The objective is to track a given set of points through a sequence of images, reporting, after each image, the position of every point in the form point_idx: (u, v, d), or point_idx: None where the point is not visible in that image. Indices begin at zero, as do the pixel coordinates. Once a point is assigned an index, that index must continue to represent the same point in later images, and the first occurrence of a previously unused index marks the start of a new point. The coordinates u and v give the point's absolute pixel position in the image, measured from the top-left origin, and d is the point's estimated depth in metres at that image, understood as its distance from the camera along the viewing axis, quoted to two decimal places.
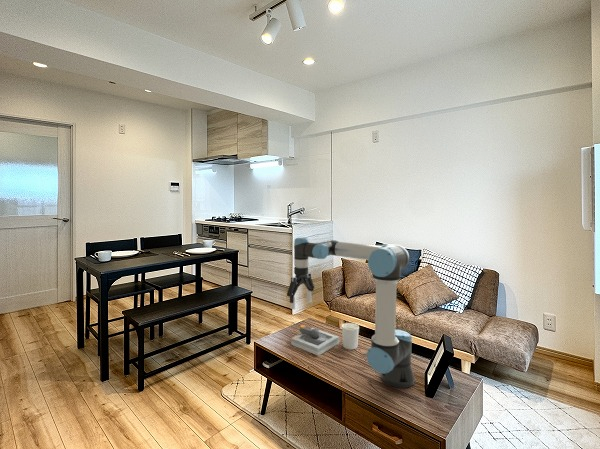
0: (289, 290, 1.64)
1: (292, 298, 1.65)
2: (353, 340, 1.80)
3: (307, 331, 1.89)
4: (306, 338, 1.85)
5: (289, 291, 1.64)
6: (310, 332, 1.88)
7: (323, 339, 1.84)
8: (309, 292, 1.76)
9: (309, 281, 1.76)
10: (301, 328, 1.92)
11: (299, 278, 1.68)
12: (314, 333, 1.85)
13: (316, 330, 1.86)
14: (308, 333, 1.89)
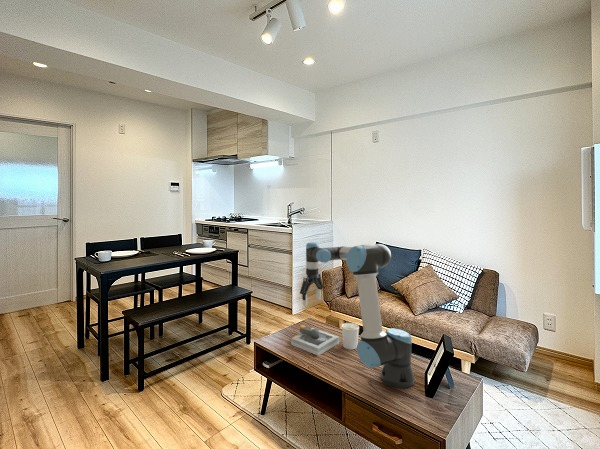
0: (302, 289, 1.87)
1: (304, 296, 1.88)
2: (353, 340, 1.80)
3: (307, 331, 1.89)
4: (306, 338, 1.85)
5: (302, 289, 1.87)
6: (310, 332, 1.88)
7: (323, 339, 1.84)
8: (319, 290, 1.99)
9: (319, 281, 1.99)
10: (301, 328, 1.92)
11: (310, 278, 1.91)
12: (314, 333, 1.85)
13: (316, 330, 1.86)
14: (308, 333, 1.89)
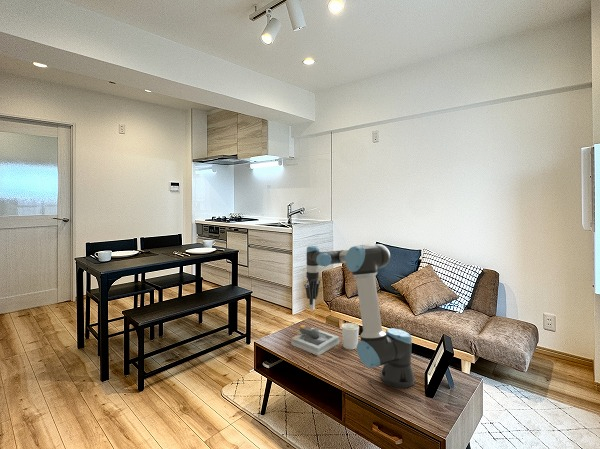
0: (307, 294, 1.92)
1: (311, 300, 1.94)
2: (353, 340, 1.80)
3: (307, 331, 1.89)
4: (306, 338, 1.85)
5: (308, 295, 1.92)
6: (310, 332, 1.88)
7: (323, 339, 1.84)
8: None
9: (316, 288, 1.97)
10: (301, 328, 1.92)
11: (311, 281, 1.91)
12: (314, 333, 1.85)
13: (316, 330, 1.86)
14: (308, 333, 1.89)
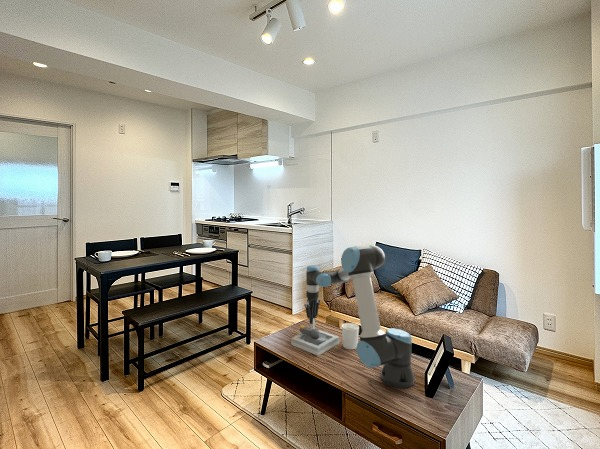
0: (307, 314, 1.93)
1: (311, 320, 1.95)
2: (353, 340, 1.80)
3: (307, 331, 1.89)
4: (306, 338, 1.85)
5: (308, 315, 1.93)
6: (310, 332, 1.88)
7: (323, 339, 1.84)
8: None
9: (316, 307, 1.98)
10: (301, 328, 1.92)
11: (310, 301, 1.92)
12: (314, 333, 1.85)
13: (316, 330, 1.86)
14: (308, 333, 1.89)
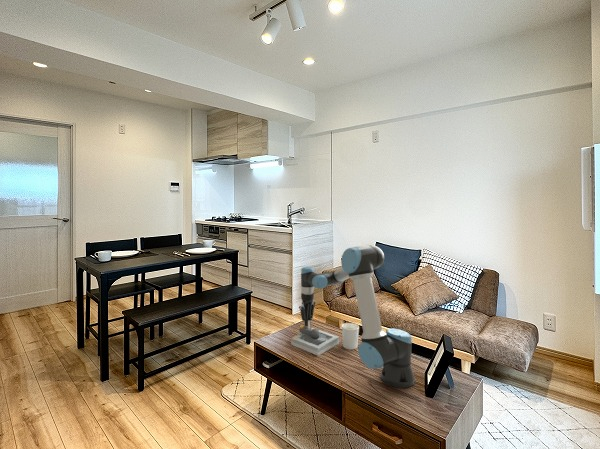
0: (302, 316, 1.89)
1: (306, 322, 1.91)
2: (353, 340, 1.80)
3: (307, 331, 1.89)
4: (306, 338, 1.85)
5: (302, 317, 1.89)
6: (310, 332, 1.88)
7: (323, 339, 1.84)
8: None
9: (311, 309, 1.95)
10: (301, 328, 1.92)
11: (305, 303, 1.89)
12: (314, 333, 1.85)
13: (316, 330, 1.86)
14: (308, 333, 1.89)
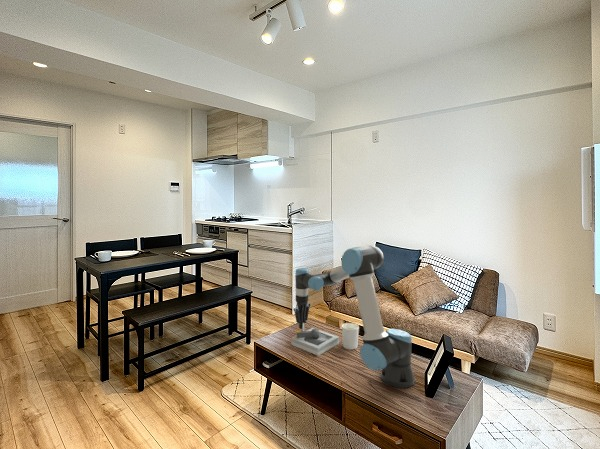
0: (297, 319, 1.85)
1: (301, 324, 1.87)
2: (353, 340, 1.80)
3: (306, 334, 1.85)
4: (311, 340, 1.82)
5: (297, 319, 1.85)
6: (310, 334, 1.85)
7: (324, 336, 1.88)
8: None
9: (306, 311, 1.91)
10: (298, 333, 1.85)
11: (300, 305, 1.85)
12: (317, 333, 1.85)
13: (316, 330, 1.87)
14: (308, 335, 1.85)
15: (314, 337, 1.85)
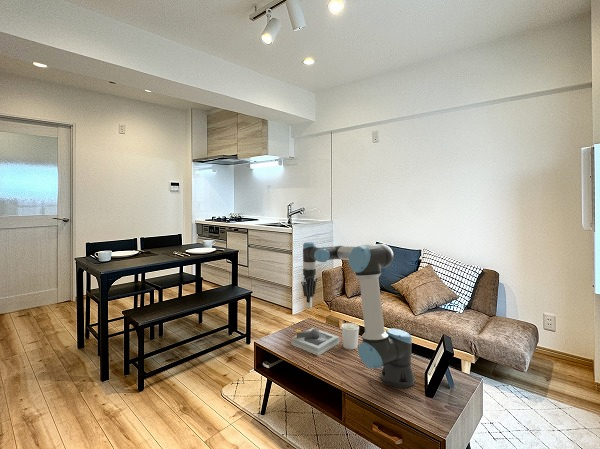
0: (304, 292, 1.87)
1: (308, 298, 1.89)
2: (353, 340, 1.80)
3: (306, 334, 1.85)
4: (311, 340, 1.82)
5: (305, 293, 1.87)
6: (310, 334, 1.85)
7: (324, 336, 1.88)
8: None
9: (313, 285, 1.92)
10: (298, 333, 1.85)
11: (307, 278, 1.86)
12: (317, 333, 1.85)
13: (316, 330, 1.87)
14: (308, 335, 1.85)
15: (314, 337, 1.85)
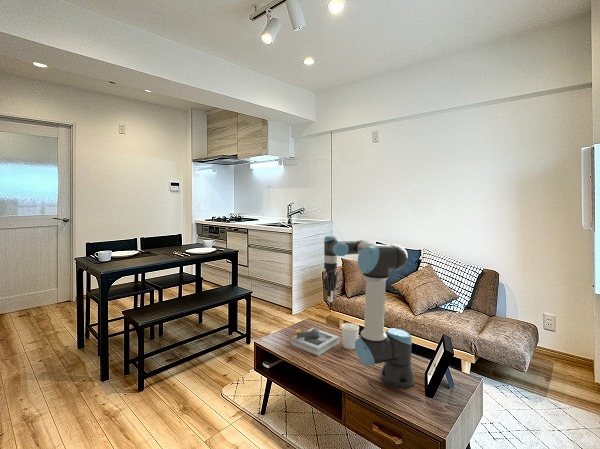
0: (325, 286, 1.86)
1: (329, 292, 1.88)
2: (353, 340, 1.80)
3: (306, 334, 1.85)
4: (311, 340, 1.82)
5: (326, 287, 1.86)
6: (310, 334, 1.85)
7: (324, 336, 1.88)
8: None
9: None
10: (298, 333, 1.85)
11: (329, 272, 1.85)
12: (317, 333, 1.85)
13: (316, 330, 1.87)
14: (308, 335, 1.85)
15: (314, 337, 1.85)
